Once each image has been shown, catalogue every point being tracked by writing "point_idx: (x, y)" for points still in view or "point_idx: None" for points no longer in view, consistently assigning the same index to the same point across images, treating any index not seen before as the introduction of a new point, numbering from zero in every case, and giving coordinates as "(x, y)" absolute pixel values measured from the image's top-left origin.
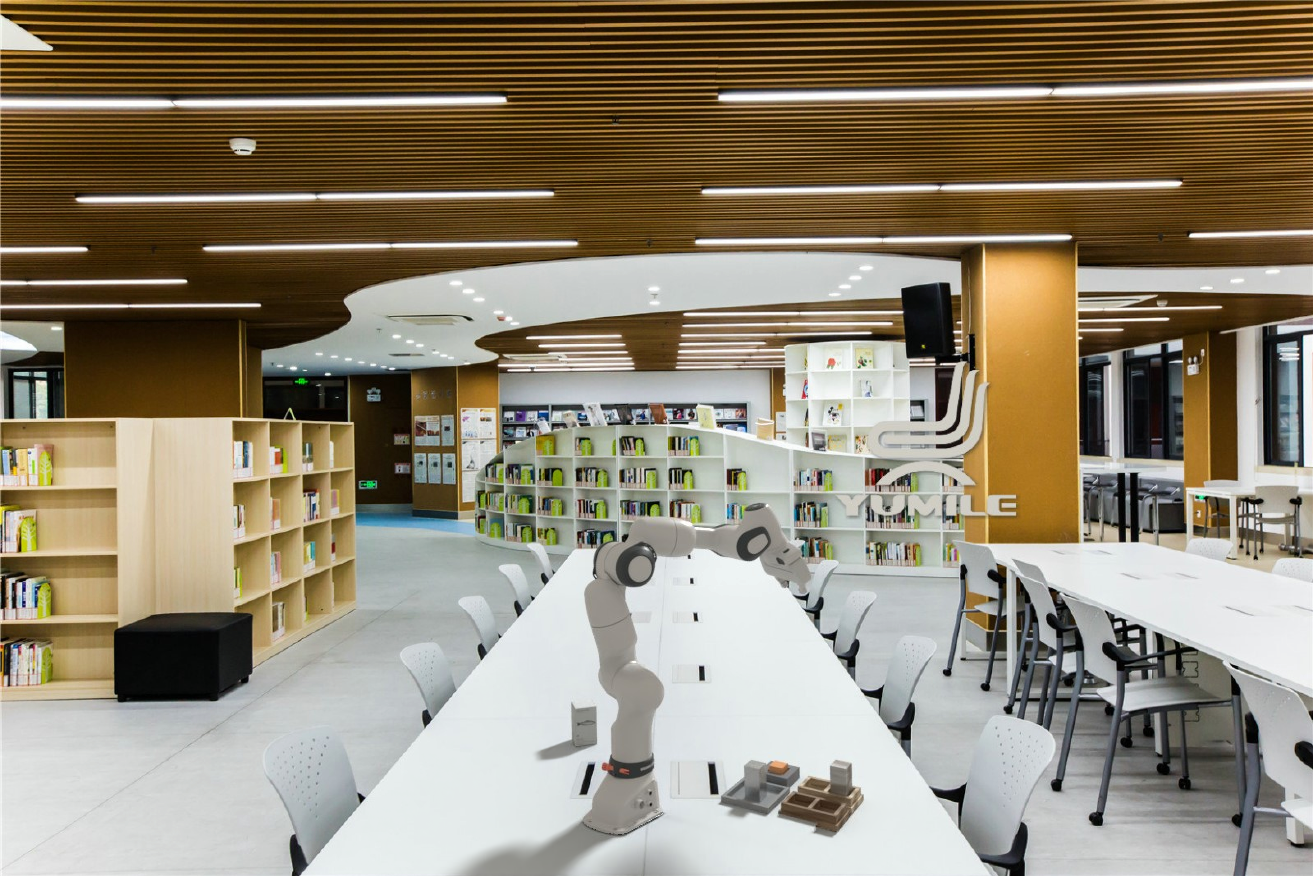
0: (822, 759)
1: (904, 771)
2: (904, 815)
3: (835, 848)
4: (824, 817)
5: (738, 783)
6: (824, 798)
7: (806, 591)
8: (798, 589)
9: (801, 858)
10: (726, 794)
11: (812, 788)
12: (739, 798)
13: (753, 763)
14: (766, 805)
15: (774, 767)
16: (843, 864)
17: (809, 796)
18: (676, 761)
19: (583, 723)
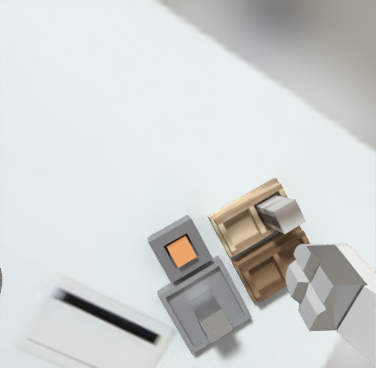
0: (144, 135)
1: (241, 64)
2: (326, 165)
3: None
4: None
5: (173, 315)
6: (278, 246)
7: (344, 248)
8: (313, 326)
9: None
10: (192, 346)
11: (249, 242)
12: (196, 324)
13: (212, 327)
14: (230, 303)
15: (185, 262)
16: None
17: (264, 260)
18: (25, 341)
19: None
